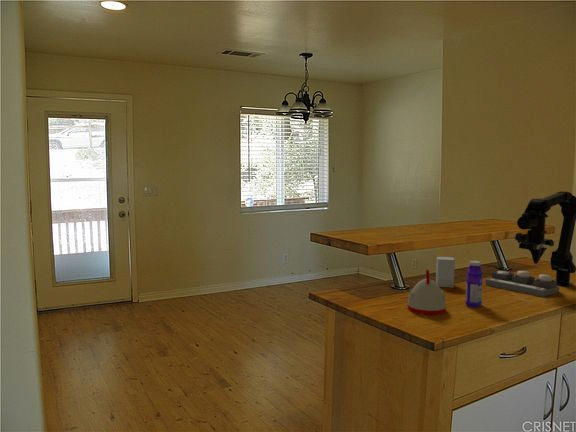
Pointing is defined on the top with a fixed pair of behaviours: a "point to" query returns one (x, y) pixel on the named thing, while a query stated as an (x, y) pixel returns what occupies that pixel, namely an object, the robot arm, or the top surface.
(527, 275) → the button mid
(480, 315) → the top surface
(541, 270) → the top surface
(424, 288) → the grey dome
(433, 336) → the top surface
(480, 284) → the bottle
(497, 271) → the button
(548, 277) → the button end
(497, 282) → the button board
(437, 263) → the supplement box
